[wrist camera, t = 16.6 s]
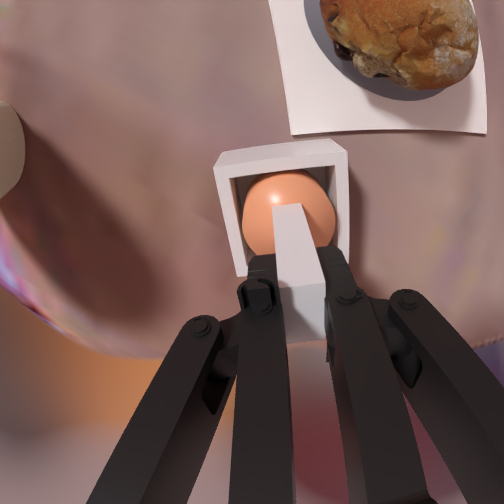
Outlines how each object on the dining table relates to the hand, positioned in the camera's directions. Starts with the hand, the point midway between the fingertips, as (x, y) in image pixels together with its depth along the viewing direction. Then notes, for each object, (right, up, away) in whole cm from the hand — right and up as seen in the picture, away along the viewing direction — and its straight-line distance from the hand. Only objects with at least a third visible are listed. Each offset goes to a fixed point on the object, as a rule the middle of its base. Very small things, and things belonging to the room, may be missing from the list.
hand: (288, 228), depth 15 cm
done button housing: (0, +3, +4) cm, 5 cm away
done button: (0, +2, +3) cm, 3 cm away
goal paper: (+7, +14, -3) cm, 16 cm away
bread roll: (+7, +13, -3) cm, 15 cm away
